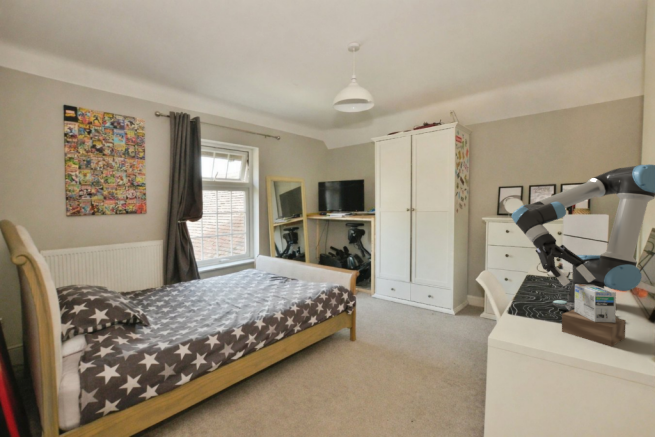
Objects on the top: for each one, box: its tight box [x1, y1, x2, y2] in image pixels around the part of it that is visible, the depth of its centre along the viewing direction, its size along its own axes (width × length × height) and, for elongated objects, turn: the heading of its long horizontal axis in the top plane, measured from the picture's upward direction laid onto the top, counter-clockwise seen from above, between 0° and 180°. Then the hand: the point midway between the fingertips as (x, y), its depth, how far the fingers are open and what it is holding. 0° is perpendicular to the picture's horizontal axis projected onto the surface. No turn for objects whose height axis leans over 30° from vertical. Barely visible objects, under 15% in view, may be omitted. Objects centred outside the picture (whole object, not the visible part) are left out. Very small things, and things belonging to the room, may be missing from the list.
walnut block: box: [561, 310, 627, 348], centre depth 108 cm, size 12×14×7 cm
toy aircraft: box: [552, 299, 575, 312], centre depth 129 cm, size 16×20×5 cm
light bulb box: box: [574, 284, 617, 323], centre depth 108 cm, size 11×7×11 cm, turn 173°
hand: (579, 282), depth 112 cm, fingers open, 13 cm apart
